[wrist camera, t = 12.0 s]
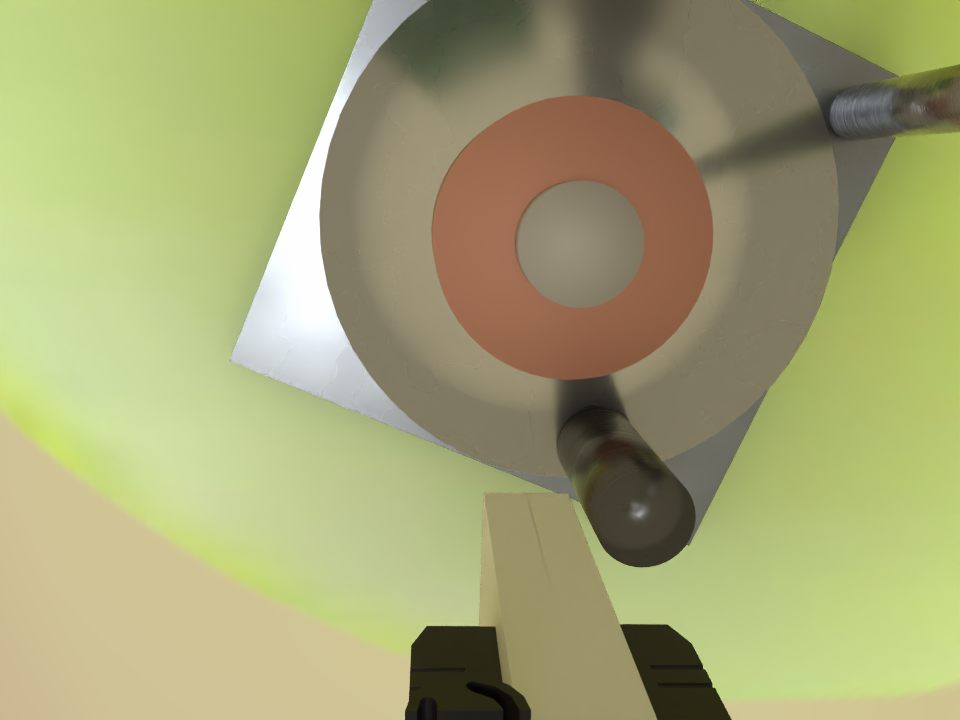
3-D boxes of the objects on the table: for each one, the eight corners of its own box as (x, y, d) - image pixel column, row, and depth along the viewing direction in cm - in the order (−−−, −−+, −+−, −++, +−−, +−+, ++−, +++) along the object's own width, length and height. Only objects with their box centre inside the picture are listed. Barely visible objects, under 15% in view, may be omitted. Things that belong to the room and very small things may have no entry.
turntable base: (439, -159, 26) (458, -449, 14) (911, 80, 28) (1280, 9, 16) (234, 355, 28) (100, 487, 16) (681, 536, 30) (852, 768, 19)
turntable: (295, -20, 25) (244, -102, 18) (814, -57, 26) (972, -150, 19) (354, 489, 28) (332, 600, 21) (815, 443, 29) (951, 534, 22)
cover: (420, 116, 25) (420, 103, 20) (670, 97, 25) (723, 80, 21) (442, 363, 26) (447, 401, 22) (677, 342, 26) (730, 374, 22)
